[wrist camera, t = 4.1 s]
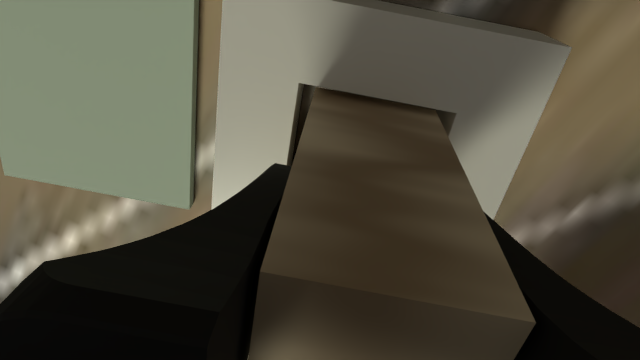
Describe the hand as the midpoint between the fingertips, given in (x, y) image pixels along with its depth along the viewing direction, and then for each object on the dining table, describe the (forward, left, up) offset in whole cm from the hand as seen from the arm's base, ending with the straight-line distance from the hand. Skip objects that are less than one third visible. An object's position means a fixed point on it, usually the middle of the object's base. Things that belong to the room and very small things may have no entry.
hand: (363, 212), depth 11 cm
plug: (0, 0, -4) cm, 4 cm away
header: (0, 0, -6) cm, 6 cm away
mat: (+11, 0, -6) cm, 12 cm away
